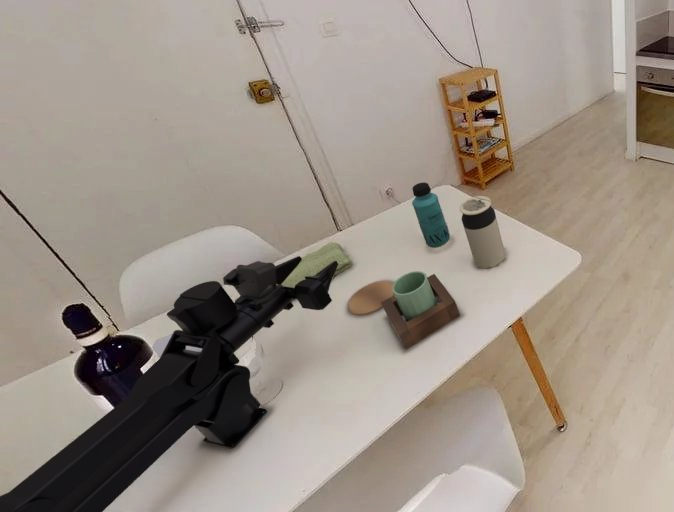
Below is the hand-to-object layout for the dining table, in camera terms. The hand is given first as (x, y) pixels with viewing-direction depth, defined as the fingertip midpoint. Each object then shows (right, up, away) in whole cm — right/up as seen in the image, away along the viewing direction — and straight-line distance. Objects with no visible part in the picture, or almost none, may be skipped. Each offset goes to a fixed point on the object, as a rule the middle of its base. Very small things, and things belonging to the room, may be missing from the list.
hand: (318, 259), depth 88 cm
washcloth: (-17, -9, +19) cm, 27 cm away
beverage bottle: (+13, -3, +28) cm, 31 cm away
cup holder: (+19, -15, +6) cm, 25 cm away
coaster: (+4, -12, +12) cm, 17 cm away
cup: (+19, -15, +6) cm, 25 cm away
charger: (-24, -20, 0) cm, 31 cm away
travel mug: (+29, -6, +23) cm, 37 cm away
